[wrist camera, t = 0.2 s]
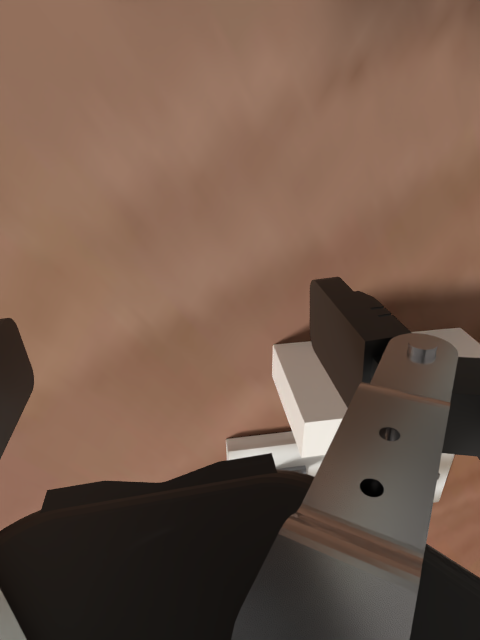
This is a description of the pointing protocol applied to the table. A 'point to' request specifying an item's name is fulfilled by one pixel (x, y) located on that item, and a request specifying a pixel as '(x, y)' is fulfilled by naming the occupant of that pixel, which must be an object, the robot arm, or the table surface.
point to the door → (327, 389)
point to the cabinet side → (290, 457)
